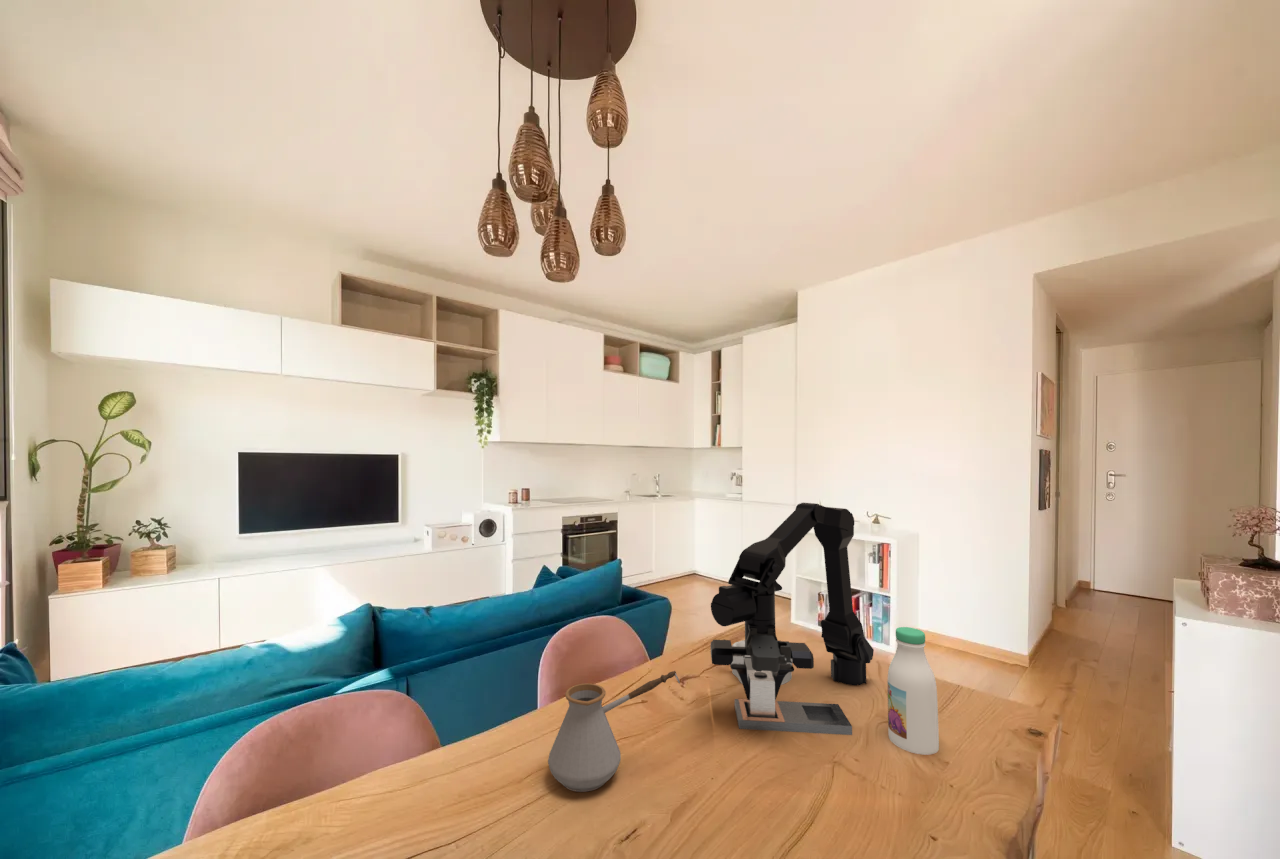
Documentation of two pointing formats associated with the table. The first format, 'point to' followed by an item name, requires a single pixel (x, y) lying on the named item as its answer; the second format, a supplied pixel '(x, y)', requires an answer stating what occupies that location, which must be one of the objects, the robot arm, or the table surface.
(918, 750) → the milk bottle
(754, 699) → the block
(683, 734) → the table surface
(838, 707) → the grey flat block
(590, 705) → the coffee pot
